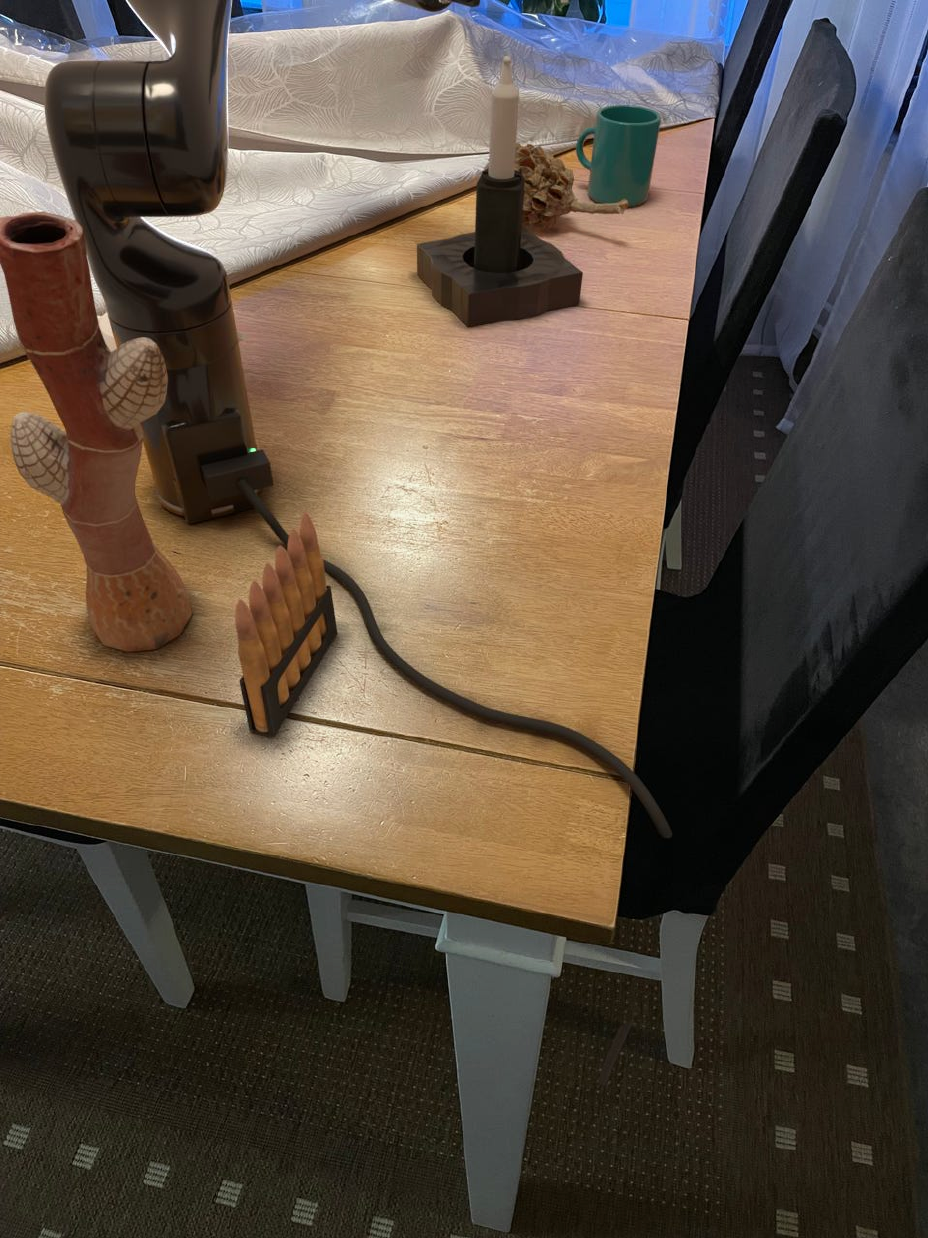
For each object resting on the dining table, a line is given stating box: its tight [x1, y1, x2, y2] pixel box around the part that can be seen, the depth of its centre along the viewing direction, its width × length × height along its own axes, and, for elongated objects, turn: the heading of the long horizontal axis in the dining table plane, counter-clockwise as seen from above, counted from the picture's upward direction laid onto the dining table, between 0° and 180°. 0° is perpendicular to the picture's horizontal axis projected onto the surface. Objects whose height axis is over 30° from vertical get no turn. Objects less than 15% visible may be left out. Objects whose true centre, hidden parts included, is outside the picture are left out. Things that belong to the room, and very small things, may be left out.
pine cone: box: [481, 142, 629, 230], centre depth 119 cm, size 22×10×10 cm, turn 65°
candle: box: [474, 55, 525, 273], centre depth 100 cm, size 5×5×25 cm
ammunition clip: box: [234, 512, 338, 738], centre depth 59 cm, size 11×2×12 cm, turn 162°
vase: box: [0, 211, 193, 653], centre depth 56 cm, size 10×7×30 cm
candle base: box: [416, 225, 584, 328], centre depth 107 cm, size 16×16×4 cm
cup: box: [575, 104, 662, 208], centre depth 128 cm, size 9×12×11 cm
